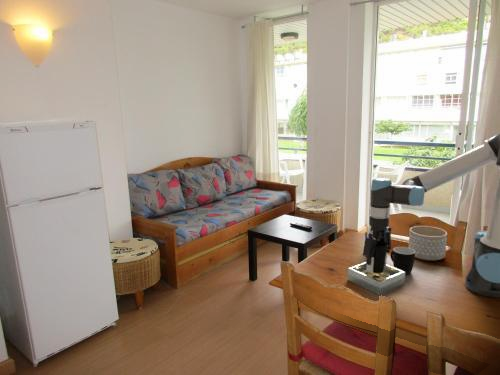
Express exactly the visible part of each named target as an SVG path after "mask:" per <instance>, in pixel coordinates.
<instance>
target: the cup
mask: <svg viewBox="0 0 500 375" xmlns="http://www.w3.org/2000/svg"><path fill="white" fill-rule="evenodd" d="M387 246H388V244H387V243H386V242H385V245H382V244H381V243H380V240H379V241H378V242H377V244H376V246H374V253H373V256H372V257H374V263H373V273H382V272H383V269H384V263H385V257H386V251H387Z"/></svg>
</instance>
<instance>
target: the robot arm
mask: <svg viewBox="0 0 500 375" xmlns="http://www.w3.org/2000/svg"><path fill="white" fill-rule="evenodd" d="M494 163H495V166H496V167H497V168H498V170H500V132H499V133H498V134H496V135H494V136H492V137H490V138H488V139H485V140H484V142H483V144H482V145H480V146H477V147H475V148H473V149H471V150H469V151H466V152H465V153H463V154H460V155H458V156H456V157H454V158H452V159H450V160H447V161H445V162H443V163H441V164H439V165H437V166H435V167H432V168H430V169H429V170H426V171H424V172H423V173H419V174H418V175H416V176H415V175H414V176H413V177H410V178H407V179H405V180H404V181H403V182H402V183H401V184H393V183H392V180H391V178H389V177H388V178H387V177H375V178H373V179H372V180H371V185H370V186H371V187H370V204H369V206H370V207H369V215H370V216H369V220H368V224H369V226H371V230H370V232H368V231H366V232H365V233H364V237H365V238H364V244H363V252H362V256H364V257H366V260H365V262H366V264H367V269H366V271H369V272H371V273H373V263H374V257H372V256H373V253H374V246H376V244H377V242H378V241H379V240H380V243H381V244H382V245H385V242H386V243H387V244H388V245H387V251H386V257H385V263H384V268H386V264H387V258H388V254H390V253H391V251H392V236H391V235H392V234H391V232H392V227H389V226H390V213H391V212H390V211H391V210H390V209H391V204H395V205H404V206H412V207H416V206H417V207H421V206H423V205H424V201H425V200H424V199H425V193H427V192H430V191H432V190H434V189H436V188H438V187H441V186H442V185H445V184H447V183H450V182H453V181H454V180H457V179H459V178H461V177H464V176H466V175H468V174H470V173H472V172H475V171H478V170H480V169H482V168H483V167H487V166H489V165H491V164H494ZM489 216H490V217H489V219H488V220H489V221H488V225H487V229H486V231H477V232H476V233H475V235H474V242H473V254H472V261H471V268H470V269H469V271H468V273H467V275H466V277H465V279H464V286H465V288H467V289H468V290H469V291H471V292H473V293H475V294H478V295H480V296H485V297H490V298H500V172H499V174H498V178H497V183H496V188H495V192H494V196H493V202H492V206H491V211H490V215H489ZM373 238H374V239H373Z"/></svg>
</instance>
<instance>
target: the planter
mask: <svg viewBox="0 0 500 375" xmlns="http://www.w3.org/2000/svg"><path fill="white" fill-rule="evenodd" d="M408 235H409V236H408V247H407V248H411V249H413V250H414V251H415V258H416V259H418V260H422V261H425V262H426V261H427V262H429V261H430V262H434V261H435V262H436V261H439V260H442V259H444V258H446V251H447V240H448V239H447V238H448V232H447V231H446V230H444V229H443V228H440V227H436V226H430V225H429V226H428V225H415V226H412V227H410V228H409V232H408Z"/></svg>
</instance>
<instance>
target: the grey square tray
mask: <svg viewBox="0 0 500 375" xmlns="http://www.w3.org/2000/svg"><path fill="white" fill-rule="evenodd" d="M366 269H367V264H366V261H365V262H362V263H359V264H355V265H352V266H350V267H348V270H347V281H349V282H351V283H353V284H356V285H357V286H359V287H361V288H364V289H366V290H367V291H369V292H372V293H374V294H376V295H378V296H381V295H383V294H386V293H388V292H390V291H393V290H394V289H397V288H399V287H401V286H404V285H405V281H406V279H405V278H406V275H405V271H402V270H399V269H397V268H394V266H392V265H389V264H387V263H386V268H384V269H383V272H382V273H371V272H369V271H366Z"/></svg>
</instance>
